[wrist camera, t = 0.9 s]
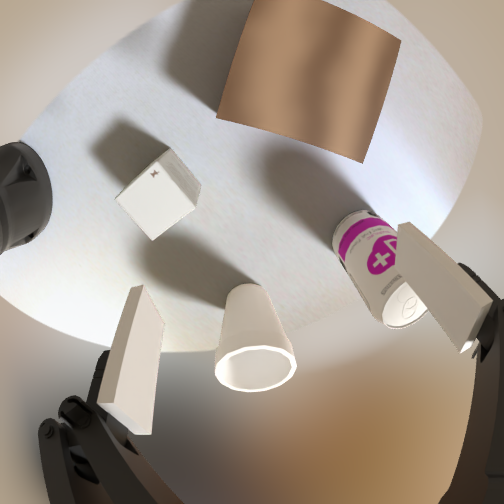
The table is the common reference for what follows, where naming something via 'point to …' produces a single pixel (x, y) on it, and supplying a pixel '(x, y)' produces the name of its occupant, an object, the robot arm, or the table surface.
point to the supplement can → (376, 269)
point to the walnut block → (310, 75)
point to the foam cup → (252, 343)
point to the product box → (160, 194)
